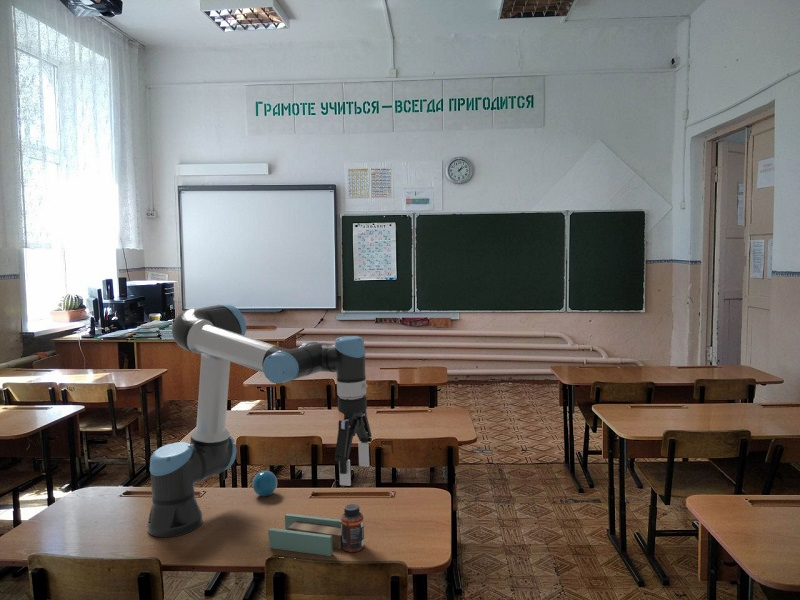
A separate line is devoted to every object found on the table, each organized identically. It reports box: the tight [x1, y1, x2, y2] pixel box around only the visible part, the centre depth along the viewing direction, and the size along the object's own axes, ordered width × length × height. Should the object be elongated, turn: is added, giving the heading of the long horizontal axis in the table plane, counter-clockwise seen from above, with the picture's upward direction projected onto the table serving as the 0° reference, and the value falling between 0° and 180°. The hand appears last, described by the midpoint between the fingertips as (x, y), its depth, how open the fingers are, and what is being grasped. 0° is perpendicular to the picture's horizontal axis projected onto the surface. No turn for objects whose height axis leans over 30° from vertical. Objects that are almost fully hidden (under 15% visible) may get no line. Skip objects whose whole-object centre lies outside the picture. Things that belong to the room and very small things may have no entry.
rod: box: [288, 521, 343, 550], centre depth 164 cm, size 16×4×4 cm, turn 70°
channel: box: [268, 513, 342, 557], centre depth 163 cm, size 18×10×5 cm, turn 73°
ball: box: [252, 470, 278, 497], centre depth 196 cm, size 8×8×8 cm
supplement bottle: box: [340, 503, 365, 553], centre depth 159 cm, size 6×6×11 cm
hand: (355, 475), depth 157 cm, fingers open, 13 cm apart
